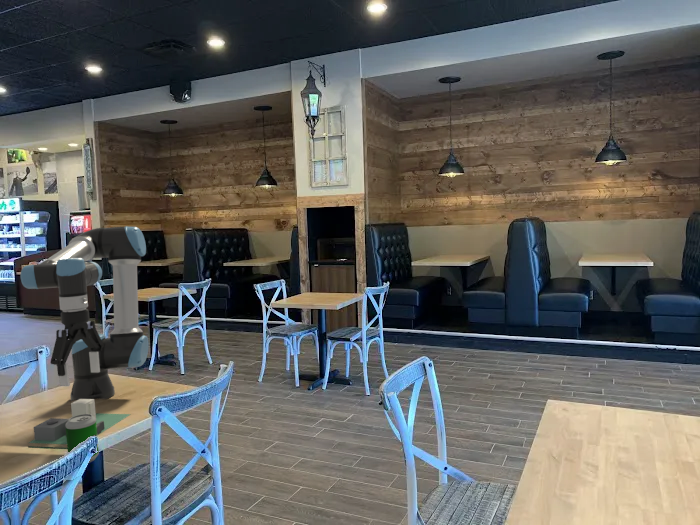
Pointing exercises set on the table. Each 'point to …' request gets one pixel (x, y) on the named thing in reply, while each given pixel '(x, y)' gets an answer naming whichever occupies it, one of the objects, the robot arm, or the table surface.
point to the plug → (83, 407)
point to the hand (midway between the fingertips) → (80, 378)
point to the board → (56, 429)
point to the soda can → (81, 431)
